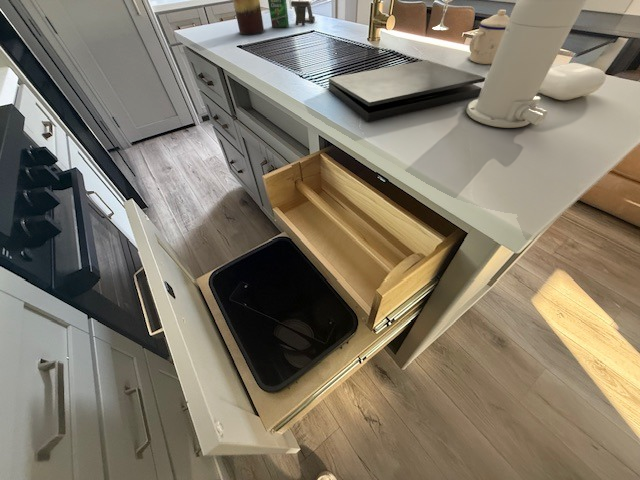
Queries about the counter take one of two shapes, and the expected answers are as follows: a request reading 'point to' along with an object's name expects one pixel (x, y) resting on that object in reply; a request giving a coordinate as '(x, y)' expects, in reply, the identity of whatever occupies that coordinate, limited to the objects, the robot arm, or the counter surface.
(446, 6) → the wineglass
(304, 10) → the tablet stand
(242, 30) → the vase
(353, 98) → the laptop
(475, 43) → the teacup with lid
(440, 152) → the counter surface
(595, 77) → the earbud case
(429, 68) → the laptop screen
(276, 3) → the coffee box
